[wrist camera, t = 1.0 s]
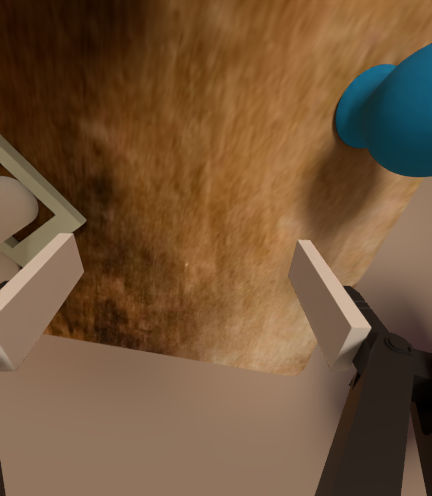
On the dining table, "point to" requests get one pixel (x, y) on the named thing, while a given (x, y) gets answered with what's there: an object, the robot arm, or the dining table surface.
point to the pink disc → (7, 268)
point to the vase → (392, 114)
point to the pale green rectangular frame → (64, 212)
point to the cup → (15, 207)
